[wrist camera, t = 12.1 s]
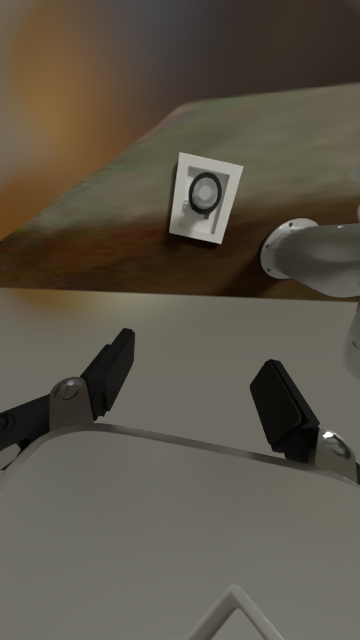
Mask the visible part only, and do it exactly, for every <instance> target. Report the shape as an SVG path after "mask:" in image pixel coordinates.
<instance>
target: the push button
mask: <svg viewBox="0 0 360 640" xmlns="http://www.w3.org/2000/svg"><path fill="white" fill-rule="evenodd" d="M192 194H193V196H192ZM221 196H222V187H221V183H220V181H219V179H218V177H217V176H216V175H214V174H213V173H210V172H203V173H201V174H199V175H197V176H196V177H195V178H194V180H193V181H192V183H191V185H190V188H189V194H188V197H189V200H184V206H189V207H191V209H192V210H194V211H195V212H197V213H198V214H202V215H205V214H209V213H211V212H212V211H214V210H215V209H216V207H217V206H218V204H219V202H220V200H221ZM216 198H217V199H216ZM215 201H216V202H215ZM186 202H187V204H185V203H186ZM207 209H208V210H207Z"/></svg>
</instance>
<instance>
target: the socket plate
mask: <svg viewBox="0 0 360 640" xmlns="http://www.w3.org/2000/svg"><path fill="white" fill-rule="evenodd" d="M243 167H244V166H240V165H235V164H231V163H226V162H222V161H217V160H213V159H208V158H204V157H199V156H195V155H190V154H186V153H181V152H180V154H179V161H178V169H177V177H176V184H175V192H174V200H173V207H172V215H171V222H170V230H169V233H173V234H178V235H182V236H187V237H191V238H196V239H201V240H205V241H210V242H214V243H219V244H221V242H222V239H223V235H224V232H225V228H226V225H227V221H228V218H229V215H230V211H231V208H232V204H233V201H234V198H235V194H236V191H237V187H238V184H239V180H240V177H241V174H242V170H243ZM203 172H210V173H213V174H214V175H216V176H217V177H218V179H219V181H220V183H221V187H222V196H221V200H220V202H219V204H218V206H217V207H216V209H215V210H214V211H212V212H211V213H209V214H205V215H202V214H198V213H197V212H195V211H194V210H192V209H191V207H189V206H184V200H189V197H188V194H189V188H190V185H191V183H192V181H193V180H194V178H195V177H196V176H197V175H199V174H201V173H203ZM192 196H193V194H192ZM216 199H217V198H216ZM215 202H216V201H215ZM185 204H187V202H186V203H185ZM207 210H208V209H207Z"/></svg>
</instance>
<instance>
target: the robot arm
mask: <svg viewBox="0 0 360 640" xmlns="http://www.w3.org/2000/svg"><path fill="white" fill-rule="evenodd" d="M289 224H290V225H289ZM288 225H289V226H288ZM266 245H267V247H265V246H266ZM260 263H261V266H262V268H263V270H264V271H265V272H266V273H267V274H268V275H270V276H272V277H274V278H278V279H287V278H292V279H294V280H296V281H298V282H300V283H302V284H304V285H306V286H309V287H311V288H313V289H315V290H317V291H319V292H321V293H324V294H326V295H329V296H334V297H352V296H358V295H360V224H344V225H326V226H318V224H317V223H315V222H314V221H312V220H309V219H304V218H299V219H293V220H289V221H287V222H284V223H282V224H281V225H279V226H278V227H277V228H275V229H274V230H273V231H272V232H271V233H270V234H269V235H268V237H267V238H266V240H265V241H264V244H263V246H262V249H261V252H260ZM268 268H269V270H267V269H268ZM134 343H135V332H133V331H132V329H127V328H124V329H123V330H122V331H121V332H120V333H119V335H118V336H117V337H116V338H115V340H114V341H113V342H112V344H111V345H109V344H107V345H105V346H104V348H103V349H102V350H101V351H100V353H99V354H98V355H97V356H96V357H95V359H94V360H93V361H92V362H91V364H90V365H89V366H88V367H87V368H86V370H85V371H84V372H83V373H82V375H81V376H80V377H70V378H66V379H64V380H62V381H60V382H59V383H57V384H56V385H55V386H54V387H53V388H52V390H51V392H50V394H48V395H45V396H43V397H40V398H38V399H35V400H32V401H30V402H28V403H25V404H22V405H20V406H17V407H15V408H12V409H9V410H7V411H5V412H2V413H0V471H2V470H4V471H3V473H2V474H1V475H0V640H360V465H359V464H358V463H357V462H356V460H355V456H354V453H353V451H352V450H351V448H350V447H349V446H348V444H347V443H346V442H345V441H344V440H343V439H342V438H341V437H340V436H338V435H337V434H336V433H334V432H333V431H331V430H328V429H325V428H322V429H319V427H318V425H319V424H320V422H319V421H318V419H317V418H316V416H315V415H314V413H313V412H312V410H311V408H310V407H309V405H308V404H307V402H306V401H305V399H304V398H303V396H302V394H301V393H300V392H299V390H298V388H297V387H296V385H295V384H294V382H293V381H292V379H291V377H290V376H289V374H288V373H287V371H286V370H285V368H284V367H283V365H282V364H281V362H280V361H277V360H272V359H270V360H269V361H266V362H265V364H264V365H263V367H262V368H261V369H260V371H259V373H258V374H257V376H256V377H255V379H254V380H253V381H252V383H251V384H250V391H251V394H252V397H253V400H254V403H255V406H256V409H257V411H258V415H259V418H260V421H261V423H262V426H263V429H264V432H265V435H266V438H267V440H268V443H269V444H270V445H271V448H272V450H273V451H274V452H278V453H284V455H285V459H282V458H277V457H273V456H268V455H263V454H259V453H254V452H249V451H245V450H240V449H235V448H230V447H225V446H220V445H215V444H211V443H205V442H201V441H196V440H191V439H186V438H181V437H176V436H171V435H166V434H161V433H156V432H151V431H146V430H141V429H135V428H129V427H124V426H118V425H110V424H102V423H94V421H95V420H97V418H98V416H103V417H104V415H105V413H106V411H110V409H111V407H112V406H113V403H114V401H115V399H116V397H117V395H118V393H119V391H120V389H121V387H122V385H123V383H124V381H125V379H126V377H127V375H128V373H129V371H130V369H131V366H132V364H133V361H134ZM341 359H342V363H343V365H344V367H345V368H346V369H347V371H348V372H349V373H350V374H351V375H352V376H354V377H355V378H356V379H357V380H359V381H360V301H359V303H358V306H357V309H356V313H355V316H354V318H353V321H352V324H351V326H350V328H349V331H348V333H347V336H346V338H345V341H344V344H343V347H342V350H341Z"/></svg>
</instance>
